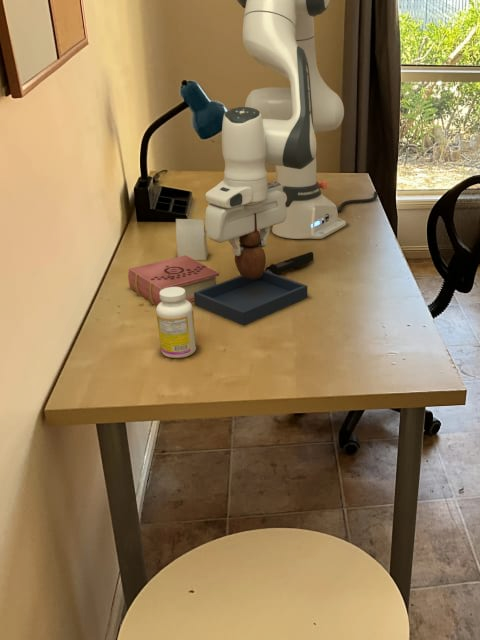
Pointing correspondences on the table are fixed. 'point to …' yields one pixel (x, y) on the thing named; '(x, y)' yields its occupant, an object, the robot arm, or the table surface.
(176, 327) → the supplement bottle
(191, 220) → the white folded card
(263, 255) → the wooden figurine
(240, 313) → the tray
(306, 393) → the table surface
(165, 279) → the book
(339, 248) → the table surface
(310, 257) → the electric trimmer
